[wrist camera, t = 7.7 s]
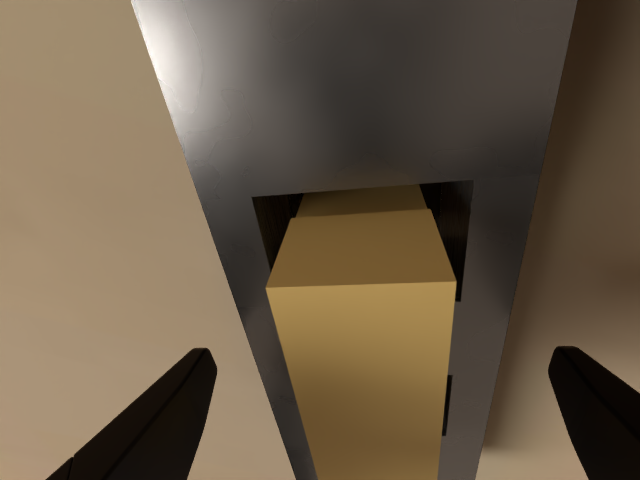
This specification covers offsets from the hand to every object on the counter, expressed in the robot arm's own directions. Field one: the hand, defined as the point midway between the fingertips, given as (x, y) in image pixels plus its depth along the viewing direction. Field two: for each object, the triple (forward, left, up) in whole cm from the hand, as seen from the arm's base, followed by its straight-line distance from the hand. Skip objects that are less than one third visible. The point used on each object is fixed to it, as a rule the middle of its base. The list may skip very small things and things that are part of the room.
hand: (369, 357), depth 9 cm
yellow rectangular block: (0, 0, -3) cm, 3 cm away
